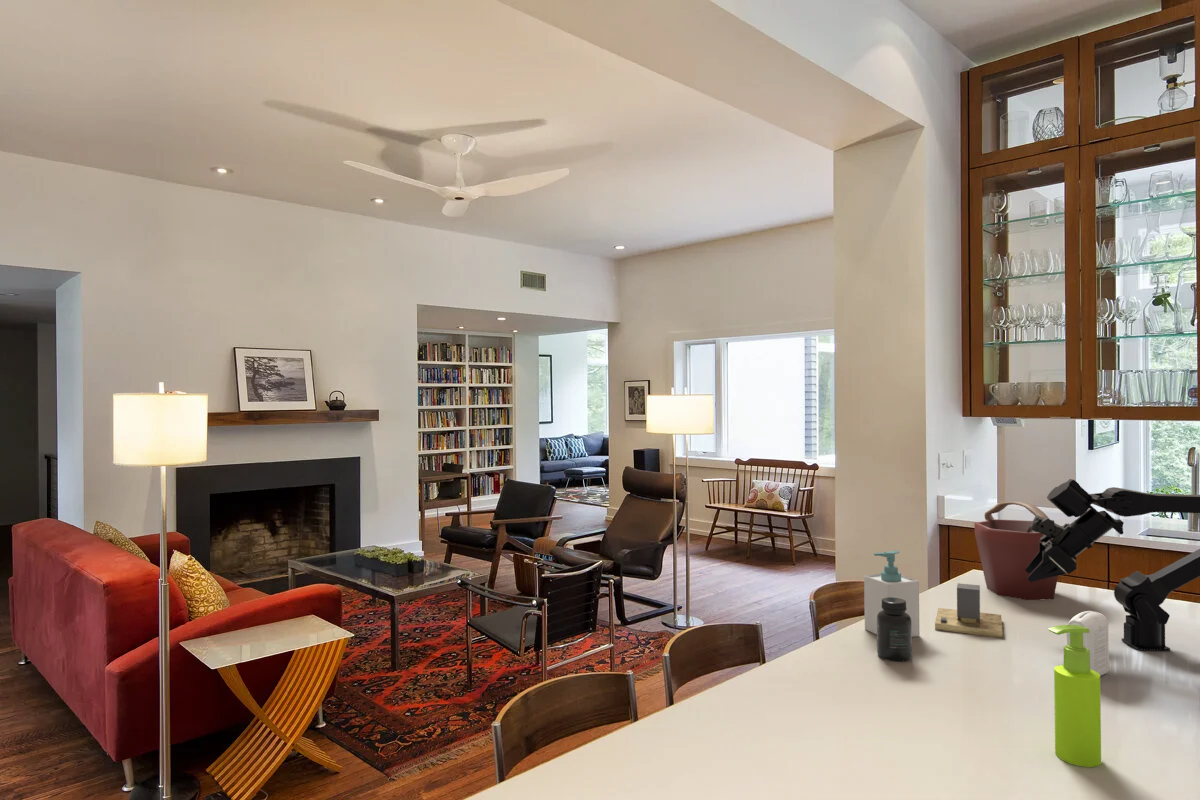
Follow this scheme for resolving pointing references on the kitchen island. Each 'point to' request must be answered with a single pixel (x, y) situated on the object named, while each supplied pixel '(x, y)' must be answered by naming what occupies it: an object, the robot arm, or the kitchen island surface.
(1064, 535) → the robot arm
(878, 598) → the soap bottle
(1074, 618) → the photo printer
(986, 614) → the socket
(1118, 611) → the kitchen island surface
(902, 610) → the supplement bottle
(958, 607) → the plug
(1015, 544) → the bucket
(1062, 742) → the soap dispenser
